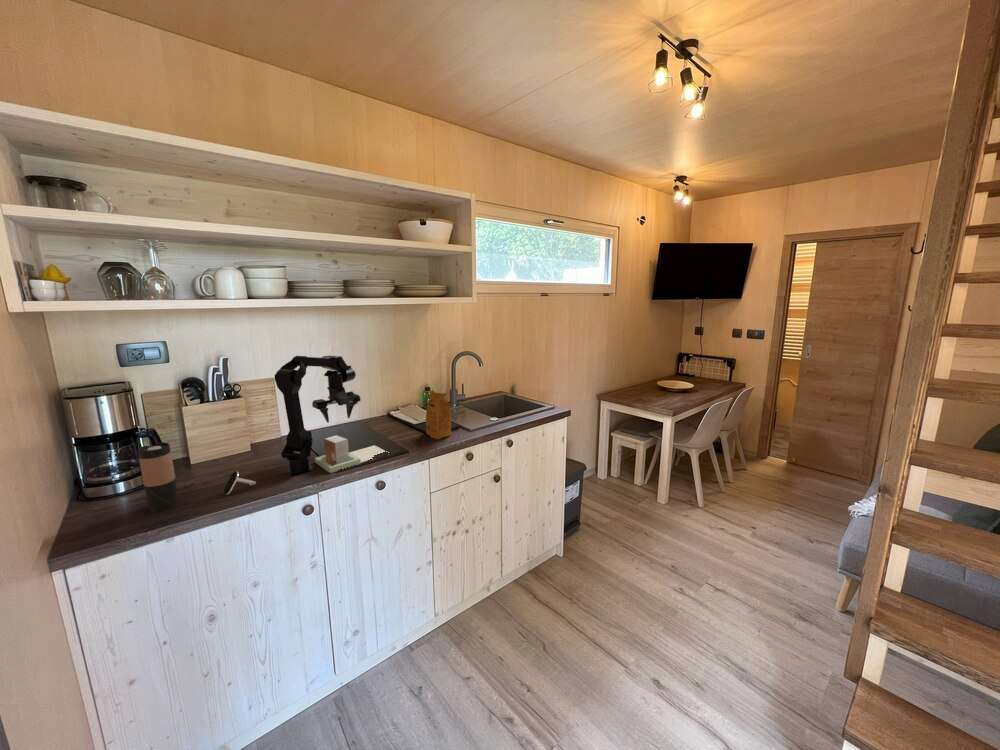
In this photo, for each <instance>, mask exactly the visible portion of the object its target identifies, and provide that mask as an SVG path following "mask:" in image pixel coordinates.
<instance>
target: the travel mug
mask: <svg viewBox="0 0 1000 750" xmlns="http://www.w3.org/2000/svg"><path fill="white" fill-rule="evenodd" d="M137 454H138V459H139V465H140V466H139V467H140V472H141V478H142V482H143V483H142V484H143V488H144V493H145V496H146V501H147V505H148V509H149V512H153V513H155V512H156V513H158V512H163V511H167V510H168V511H169V510H170V509H173V508H174V507H176V506H178V504H179V495H178V489H177V488H178V487H177V479H176V473H175V467H174V462H173V456H172V452H171V445H170V443H168V442H157V443H155V444H154V445H153V444H152V445H143V446H140V447H139V448H138V449H137Z"/></svg>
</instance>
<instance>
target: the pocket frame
mask: <svg viewBox="0 0 1000 750" xmlns="http://www.w3.org/2000/svg"><path fill="white" fill-rule="evenodd" d="M314 463H315V464H316V465H318V466H319V467H321V468H322V469H324V470H325V471H326V472H328V473H330V474H332V473H336V472H339V471H341V470H340V469H342V470H345V469H347V467H348V468H350V467H351V466H352V467H355V466H358V465H360V464H361V459H359V458H358V457H356V456H354V455H353V454H351V453H349V461H347V462H343V463H340V464H337V465H333V466H332V465H330V464H329V463H327V462H326V456H325V454H323V455H321V456H317V457H314ZM354 465H355V466H354ZM361 465H362V464H361ZM344 468H345V469H344ZM338 470H339V471H338Z"/></svg>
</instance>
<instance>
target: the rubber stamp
mask: <svg viewBox="0 0 1000 750" xmlns="http://www.w3.org/2000/svg"><path fill="white" fill-rule="evenodd" d="M239 474H240V472H239V471H234V472H233V473H232V474H231V475H230V477H229V479H228V481H227V482H226V483H225V487H224V489H223V494H224V495H225V496H228V495H229V494H231V492H232V491H233V488H234V487H235V485H236V483H241V484H246V485H249V486H255V485H256V484H257V481H255V480H251V479H246V478H241V477H239Z"/></svg>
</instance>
